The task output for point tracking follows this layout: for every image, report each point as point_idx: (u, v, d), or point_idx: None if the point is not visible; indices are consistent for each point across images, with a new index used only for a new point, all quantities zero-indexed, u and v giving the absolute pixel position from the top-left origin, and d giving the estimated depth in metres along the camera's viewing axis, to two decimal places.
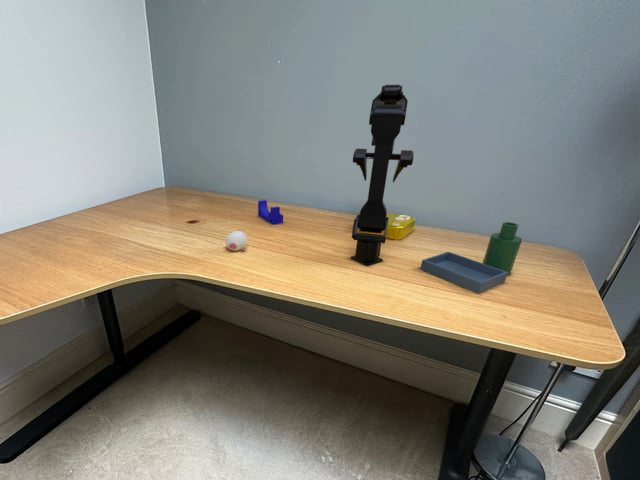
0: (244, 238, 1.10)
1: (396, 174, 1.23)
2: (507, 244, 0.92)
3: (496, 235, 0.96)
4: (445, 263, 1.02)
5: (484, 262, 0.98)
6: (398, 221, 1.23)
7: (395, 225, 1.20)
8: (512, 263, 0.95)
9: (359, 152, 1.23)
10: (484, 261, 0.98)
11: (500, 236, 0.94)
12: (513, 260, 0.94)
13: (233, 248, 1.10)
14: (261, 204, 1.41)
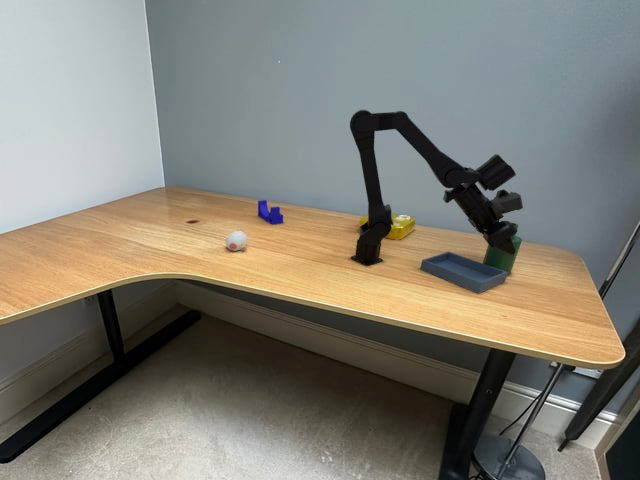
0: (244, 238, 1.10)
1: (499, 248, 0.92)
2: None
3: None
4: (445, 263, 1.02)
5: (484, 262, 0.98)
6: (398, 221, 1.23)
7: (395, 225, 1.20)
8: (512, 263, 0.95)
9: None
10: (484, 261, 0.98)
11: None
12: (513, 260, 0.94)
13: (233, 248, 1.10)
14: (261, 204, 1.41)
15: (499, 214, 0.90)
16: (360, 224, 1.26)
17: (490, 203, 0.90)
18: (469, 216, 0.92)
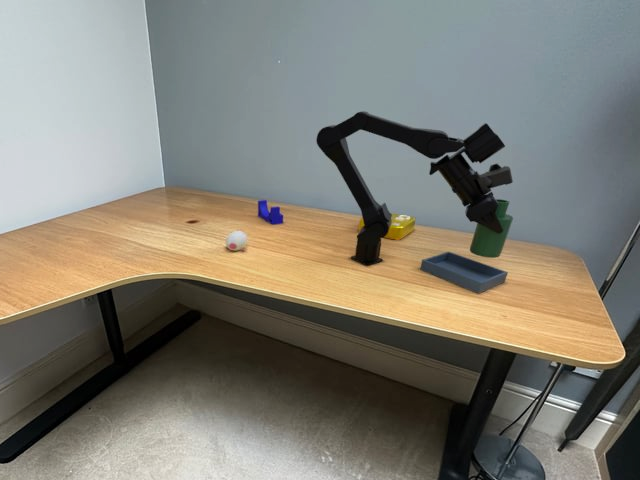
0: (244, 238, 1.10)
1: None
2: None
3: None
4: (445, 263, 1.02)
5: (472, 242, 0.93)
6: (398, 221, 1.23)
7: (395, 225, 1.20)
8: (500, 244, 0.88)
9: None
10: (472, 241, 0.93)
11: None
12: (502, 240, 0.88)
13: (233, 248, 1.10)
14: (261, 204, 1.41)
15: (485, 188, 0.84)
16: (360, 224, 1.26)
17: (476, 176, 0.85)
18: (453, 190, 0.88)
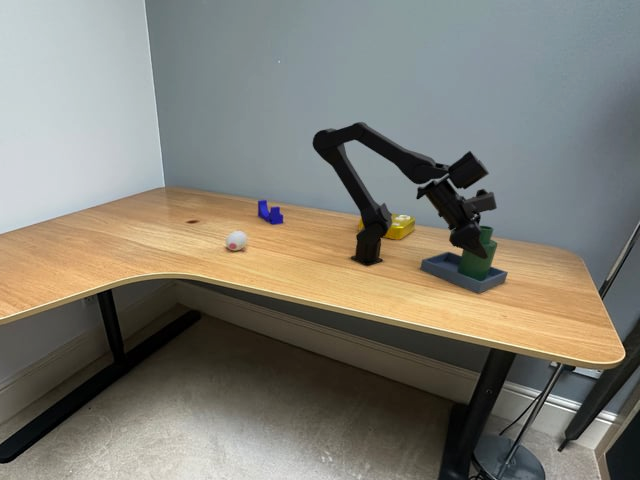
0: (244, 238, 1.10)
1: None
2: None
3: None
4: (445, 263, 1.02)
5: None
6: (398, 221, 1.23)
7: (395, 225, 1.20)
8: (485, 269, 0.90)
9: None
10: (459, 265, 0.95)
11: None
12: (486, 266, 0.90)
13: (233, 248, 1.10)
14: (261, 204, 1.41)
15: (470, 214, 0.86)
16: (360, 224, 1.26)
17: (460, 202, 0.87)
18: (439, 214, 0.90)
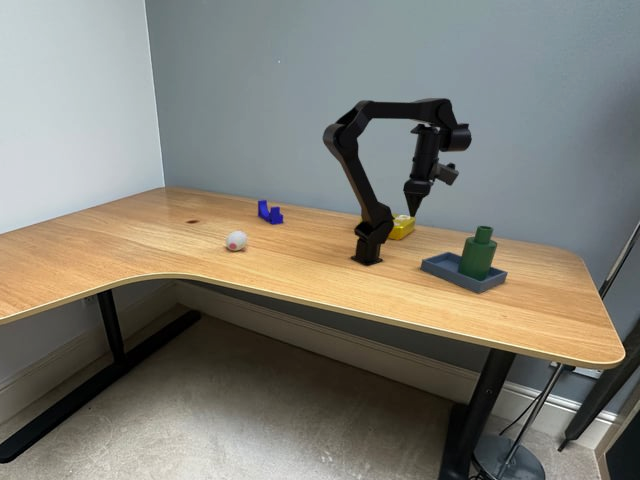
0: (244, 238, 1.10)
1: None
2: (478, 248, 0.88)
3: (472, 238, 0.92)
4: (445, 263, 1.02)
5: None
6: (398, 221, 1.23)
7: (395, 225, 1.20)
8: (485, 269, 0.90)
9: None
10: (459, 265, 0.95)
11: (474, 240, 0.90)
12: (486, 266, 0.90)
13: (233, 248, 1.10)
14: (261, 204, 1.41)
15: (432, 175, 0.94)
16: None
17: (435, 161, 0.93)
18: (413, 158, 0.95)
